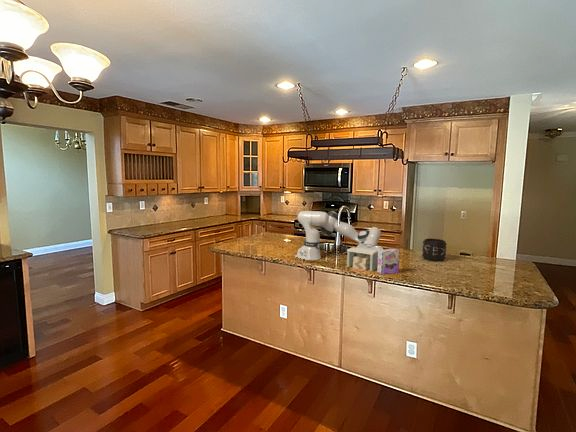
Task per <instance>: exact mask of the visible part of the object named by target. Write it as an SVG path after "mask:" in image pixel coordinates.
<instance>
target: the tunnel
mask: <svg viewBox="0 0 576 432" xmlns="http://www.w3.org/2000/svg"><path fill="white" fill-rule="evenodd" d="M346 252H347V257H346V259H347V260H346V267H347V268H350V267H353V257H355V256H356V253H363V254H369V255H370V268H369V272H373V271H375V270H377V266H378V258H377V257H378V251H376V250H369V249H362V248H356V247H354V246H352V247H350V248H347V249H346ZM355 252H356V253H355Z"/></svg>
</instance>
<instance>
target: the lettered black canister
mask: <svg viewBox="0 0 576 432" xmlns="http://www.w3.org/2000/svg"><path fill="white" fill-rule="evenodd" d="M446 255H447V243H446V241H445V240H444V239H440V238H424V240H423V241H422V254H421V257H422V258H423V259H424V260H425V261H429V262H439V263H440V262H443V261H445V259H446Z"/></svg>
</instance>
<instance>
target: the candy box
mask: <svg viewBox="0 0 576 432" xmlns="http://www.w3.org/2000/svg"><path fill="white" fill-rule="evenodd" d="M399 263H400V250H399V249H397V248H391V249H389V248H387V249H383V250H378V258H377V269H376V273H379V274H380V275H388V274H389V275H390V274H398V273H399V268H400V267H399V266H400V264H399Z"/></svg>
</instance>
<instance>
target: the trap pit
mask: <svg viewBox="0 0 576 432" xmlns="http://www.w3.org/2000/svg"><path fill="white" fill-rule="evenodd" d="M350 270H353V271H358V272H359V271H360V272H365V271H366V270H362V269H356V268H353V267H351V268H350Z"/></svg>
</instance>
